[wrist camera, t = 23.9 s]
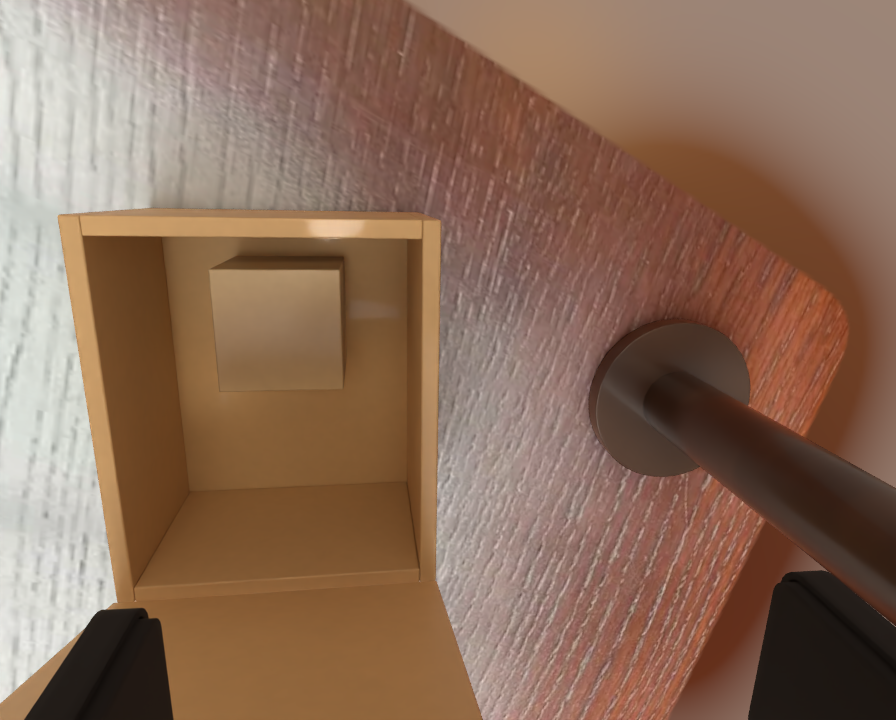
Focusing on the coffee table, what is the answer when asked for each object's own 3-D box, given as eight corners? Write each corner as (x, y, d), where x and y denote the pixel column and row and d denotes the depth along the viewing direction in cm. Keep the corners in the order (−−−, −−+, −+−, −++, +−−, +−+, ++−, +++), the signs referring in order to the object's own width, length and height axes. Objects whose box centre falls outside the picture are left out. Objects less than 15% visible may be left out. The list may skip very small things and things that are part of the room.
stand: (635, 293, 28) (956, 413, 13) (766, 354, 30) (1183, 521, 15) (561, 438, 30) (769, 698, 14) (690, 487, 32) (994, 764, 16)
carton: (148, 207, 24) (56, 214, 17) (420, 212, 26) (441, 220, 18) (181, 496, 28) (116, 604, 21) (418, 485, 29) (435, 581, 22)
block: (234, 255, 25) (207, 269, 20) (344, 256, 25) (340, 269, 21) (242, 359, 26) (218, 392, 22) (347, 357, 26) (343, 389, 22)
